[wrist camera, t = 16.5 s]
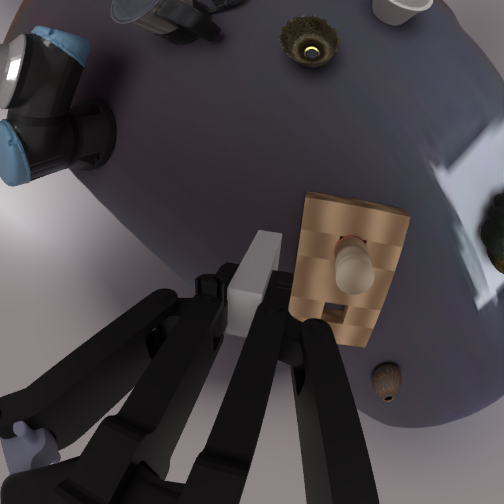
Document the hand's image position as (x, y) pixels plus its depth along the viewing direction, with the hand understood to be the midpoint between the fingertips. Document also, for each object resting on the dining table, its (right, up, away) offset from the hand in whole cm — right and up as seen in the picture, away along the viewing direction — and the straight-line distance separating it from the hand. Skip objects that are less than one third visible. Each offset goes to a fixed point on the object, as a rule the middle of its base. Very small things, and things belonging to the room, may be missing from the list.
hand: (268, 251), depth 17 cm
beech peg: (+15, +2, +25) cm, 29 cm away
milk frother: (-9, +41, +13) cm, 44 cm away
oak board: (+14, -4, +28) cm, 31 cm away
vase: (+30, -27, +35) cm, 53 cm away
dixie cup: (+20, +37, +7) cm, 43 cm away
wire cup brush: (+8, +29, +14) cm, 33 cm away
